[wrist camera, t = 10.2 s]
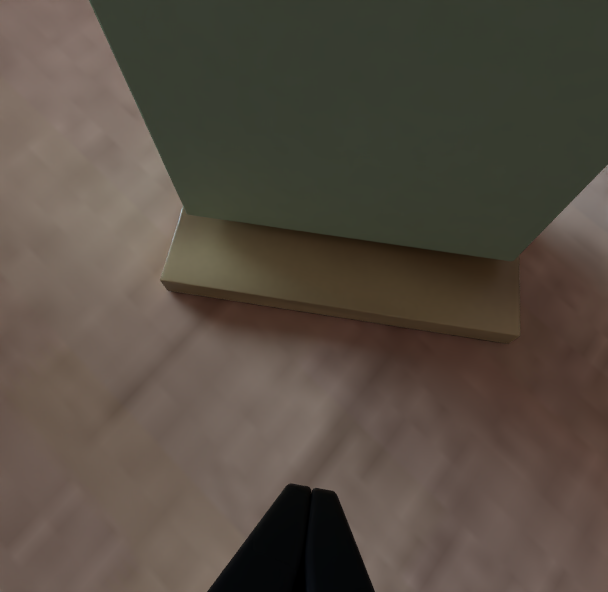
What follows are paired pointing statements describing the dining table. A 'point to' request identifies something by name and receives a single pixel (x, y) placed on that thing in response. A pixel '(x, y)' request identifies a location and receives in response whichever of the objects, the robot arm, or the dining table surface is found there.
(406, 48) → the green rectangular box
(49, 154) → the dining table surface
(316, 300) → the shelf foot
